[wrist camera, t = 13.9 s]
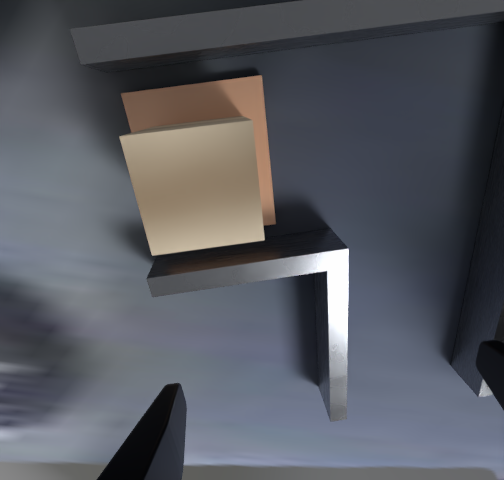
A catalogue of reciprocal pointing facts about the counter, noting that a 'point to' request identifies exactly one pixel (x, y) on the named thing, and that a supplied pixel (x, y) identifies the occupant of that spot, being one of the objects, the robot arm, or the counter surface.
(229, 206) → the maple block
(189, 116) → the pad
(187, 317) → the counter surface
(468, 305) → the channel
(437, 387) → the counter surface
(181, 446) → the robot arm
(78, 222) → the counter surface
